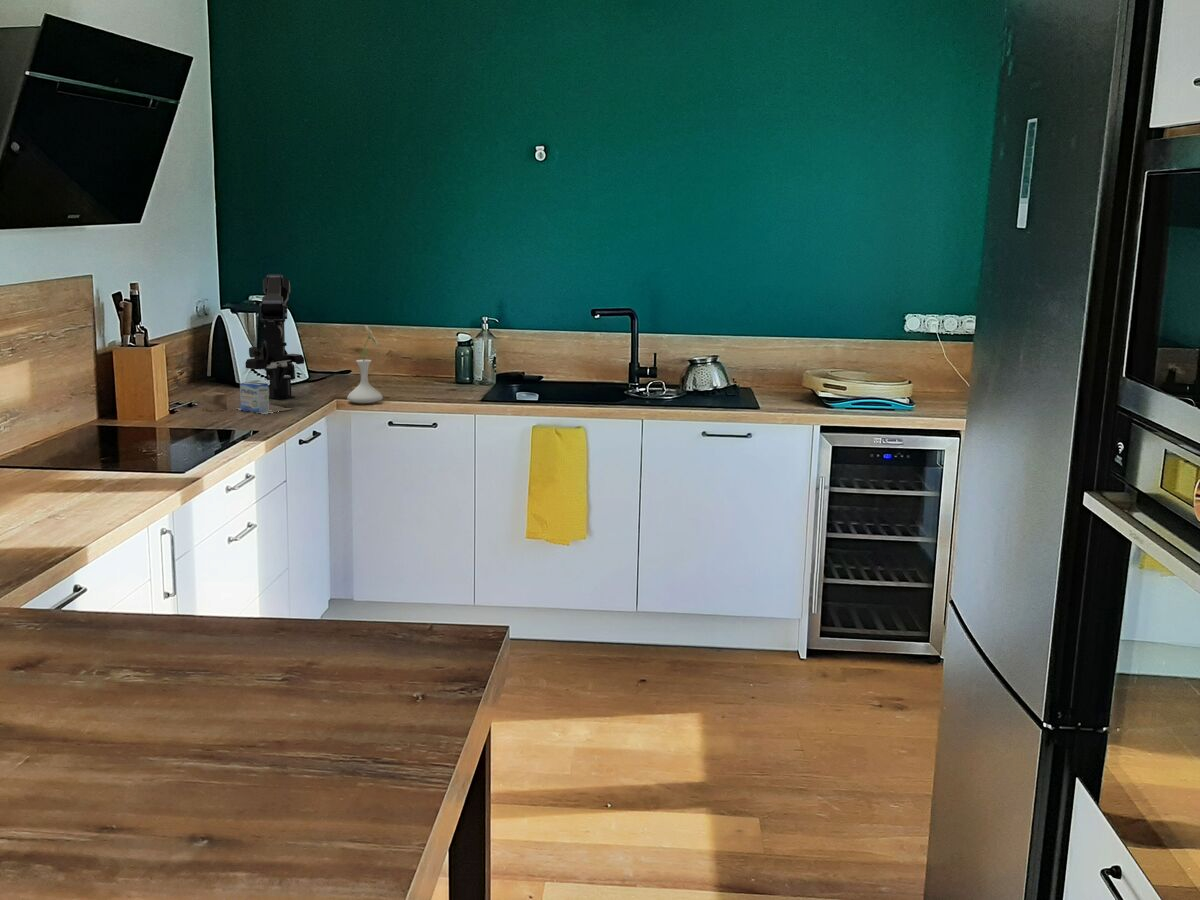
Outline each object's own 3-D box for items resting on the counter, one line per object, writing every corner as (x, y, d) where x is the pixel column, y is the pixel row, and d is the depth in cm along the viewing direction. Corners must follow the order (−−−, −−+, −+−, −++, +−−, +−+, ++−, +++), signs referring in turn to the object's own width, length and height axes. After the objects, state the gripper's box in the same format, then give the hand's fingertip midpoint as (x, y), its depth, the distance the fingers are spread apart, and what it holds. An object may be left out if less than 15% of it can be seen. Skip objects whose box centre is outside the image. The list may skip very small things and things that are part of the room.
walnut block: (217, 407, 369) (216, 392, 368) (226, 409, 366) (226, 393, 365) (203, 410, 365) (202, 394, 364) (213, 411, 362) (212, 395, 361)
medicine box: (240, 410, 363) (239, 382, 361) (250, 408, 367) (249, 380, 365) (259, 412, 359) (258, 384, 358) (269, 410, 363) (268, 382, 361)
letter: (267, 404, 375) (267, 403, 375) (295, 409, 367) (295, 408, 367) (235, 409, 366) (235, 408, 366) (264, 414, 357) (264, 414, 357)
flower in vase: (374, 406, 374) (372, 328, 368) (341, 404, 376) (338, 327, 371) (390, 399, 386) (387, 324, 381) (357, 398, 388) (355, 323, 383)
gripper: (281, 334, 377) (283, 382, 381) (233, 340, 363) (235, 389, 366) (304, 337, 371) (306, 386, 374) (255, 342, 356) (258, 393, 359)
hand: (276, 388), depth 368 cm, fingers closed
